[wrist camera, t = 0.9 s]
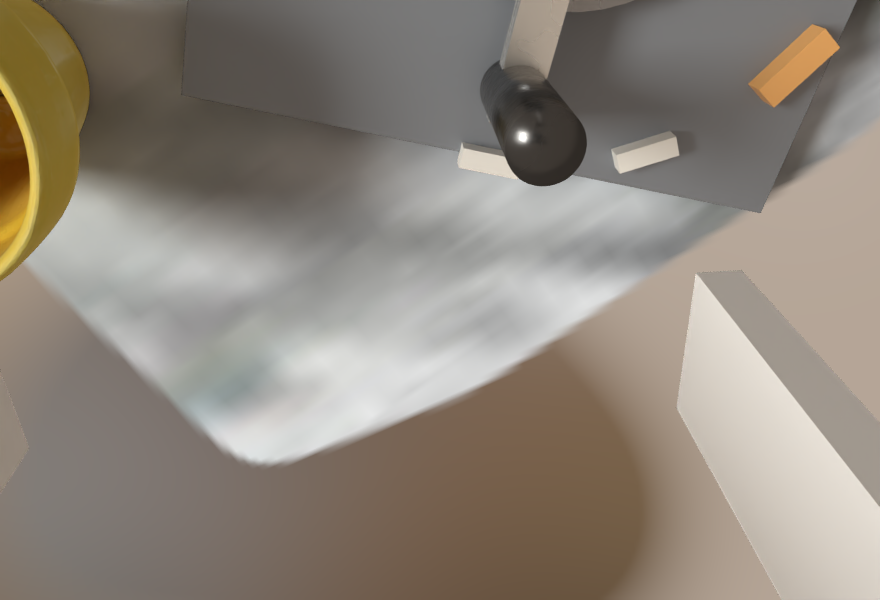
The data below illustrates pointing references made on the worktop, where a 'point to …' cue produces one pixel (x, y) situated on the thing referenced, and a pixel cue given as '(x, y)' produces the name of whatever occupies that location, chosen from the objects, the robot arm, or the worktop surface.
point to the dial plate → (571, 74)
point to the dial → (535, 94)
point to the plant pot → (36, 126)
